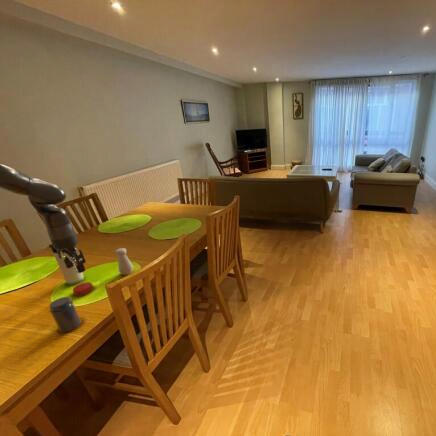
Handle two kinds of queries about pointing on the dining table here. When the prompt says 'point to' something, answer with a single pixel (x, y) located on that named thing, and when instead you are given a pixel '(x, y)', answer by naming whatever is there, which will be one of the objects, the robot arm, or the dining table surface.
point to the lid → (83, 289)
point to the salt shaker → (123, 262)
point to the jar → (65, 314)
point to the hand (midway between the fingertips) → (76, 269)
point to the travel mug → (68, 270)
